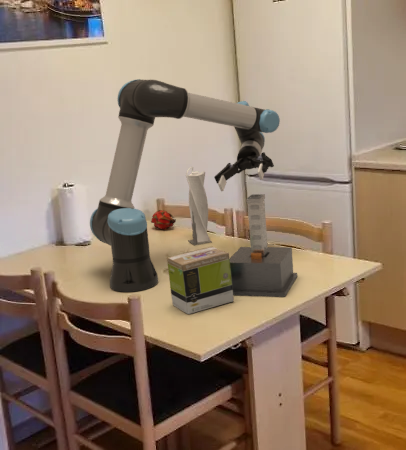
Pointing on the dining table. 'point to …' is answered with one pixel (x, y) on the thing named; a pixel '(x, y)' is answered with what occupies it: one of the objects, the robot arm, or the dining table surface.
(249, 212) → the column
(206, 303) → the tea box
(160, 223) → the dragon fruit
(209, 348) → the dining table surface
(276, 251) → the stand base
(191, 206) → the skyscraper
